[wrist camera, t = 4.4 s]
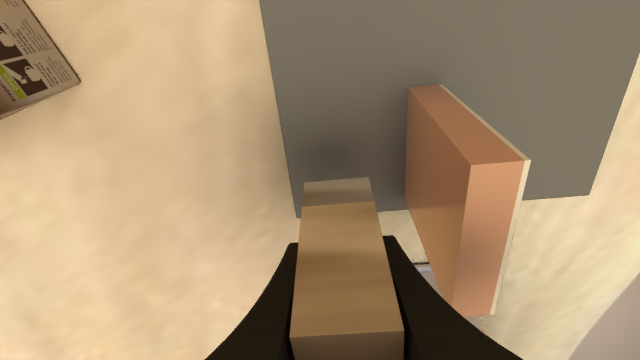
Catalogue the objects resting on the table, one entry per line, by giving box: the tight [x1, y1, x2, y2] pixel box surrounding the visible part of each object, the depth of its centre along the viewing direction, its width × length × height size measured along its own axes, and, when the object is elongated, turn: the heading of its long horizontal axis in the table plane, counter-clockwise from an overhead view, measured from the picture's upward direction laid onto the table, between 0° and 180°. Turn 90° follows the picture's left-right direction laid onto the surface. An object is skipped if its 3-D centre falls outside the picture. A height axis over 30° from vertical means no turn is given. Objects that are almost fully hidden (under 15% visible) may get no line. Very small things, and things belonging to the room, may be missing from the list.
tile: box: [405, 84, 531, 317], centre depth 18 cm, size 8×2×10 cm, turn 6°
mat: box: [259, 0, 640, 218], centre depth 21 cm, size 15×21×1 cm
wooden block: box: [290, 177, 404, 360], centre depth 13 cm, size 3×3×8 cm
